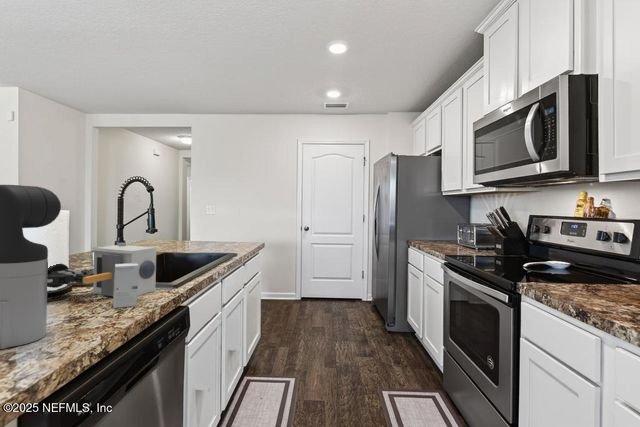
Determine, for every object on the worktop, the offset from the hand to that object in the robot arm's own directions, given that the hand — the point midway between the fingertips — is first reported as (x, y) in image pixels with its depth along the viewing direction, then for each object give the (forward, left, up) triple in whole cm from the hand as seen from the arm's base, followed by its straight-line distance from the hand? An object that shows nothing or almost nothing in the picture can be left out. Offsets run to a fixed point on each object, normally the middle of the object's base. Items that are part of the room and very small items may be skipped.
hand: (88, 279), depth 97 cm
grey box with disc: (+13, +1, -7) cm, 15 cm away
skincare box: (+2, -12, -7) cm, 14 cm away
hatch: (+3, -1, -6) cm, 7 cm away
